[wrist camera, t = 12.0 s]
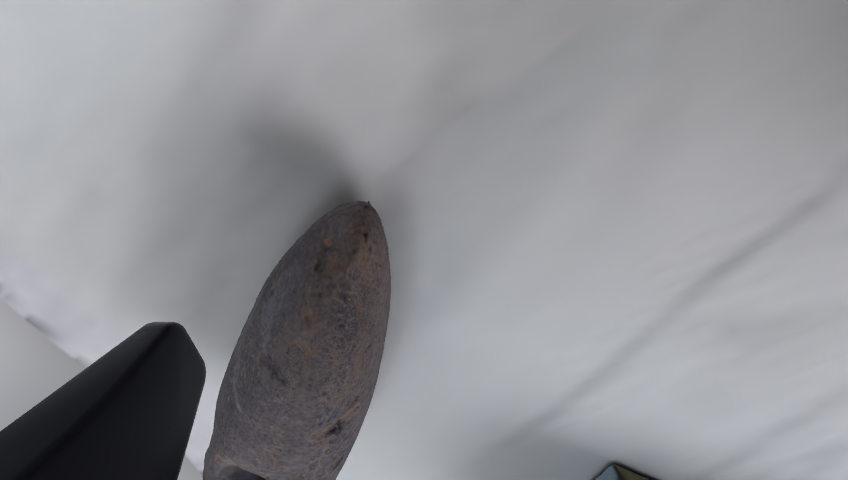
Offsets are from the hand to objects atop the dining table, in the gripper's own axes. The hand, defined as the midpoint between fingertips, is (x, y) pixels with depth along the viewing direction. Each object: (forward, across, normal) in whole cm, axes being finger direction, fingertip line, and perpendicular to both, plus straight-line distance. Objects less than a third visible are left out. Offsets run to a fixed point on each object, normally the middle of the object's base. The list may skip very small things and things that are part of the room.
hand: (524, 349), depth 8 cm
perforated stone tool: (+13, +10, +12) cm, 20 cm away
